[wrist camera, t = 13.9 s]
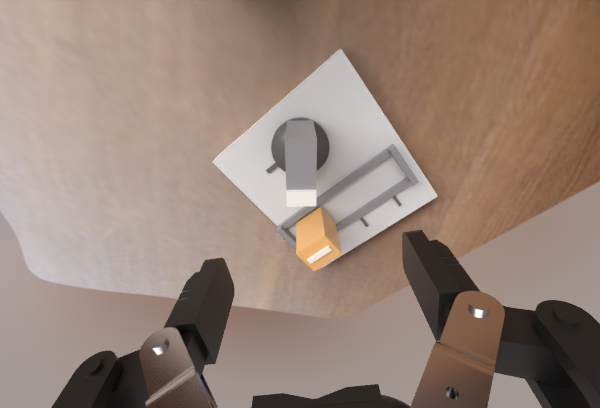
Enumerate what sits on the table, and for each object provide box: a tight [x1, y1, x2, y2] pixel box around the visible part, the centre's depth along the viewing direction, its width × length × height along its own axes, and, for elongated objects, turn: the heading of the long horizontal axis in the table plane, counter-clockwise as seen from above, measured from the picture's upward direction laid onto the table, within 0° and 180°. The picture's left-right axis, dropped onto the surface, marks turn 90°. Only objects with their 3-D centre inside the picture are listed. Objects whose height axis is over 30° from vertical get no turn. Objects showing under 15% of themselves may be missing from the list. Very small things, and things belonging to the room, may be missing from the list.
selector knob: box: [271, 117, 330, 207], centre depth 23 cm, size 5×5×7 cm
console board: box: [213, 49, 438, 269], centre depth 29 cm, size 15×17×2 cm
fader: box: [296, 206, 342, 271], centre depth 28 cm, size 3×3×5 cm
